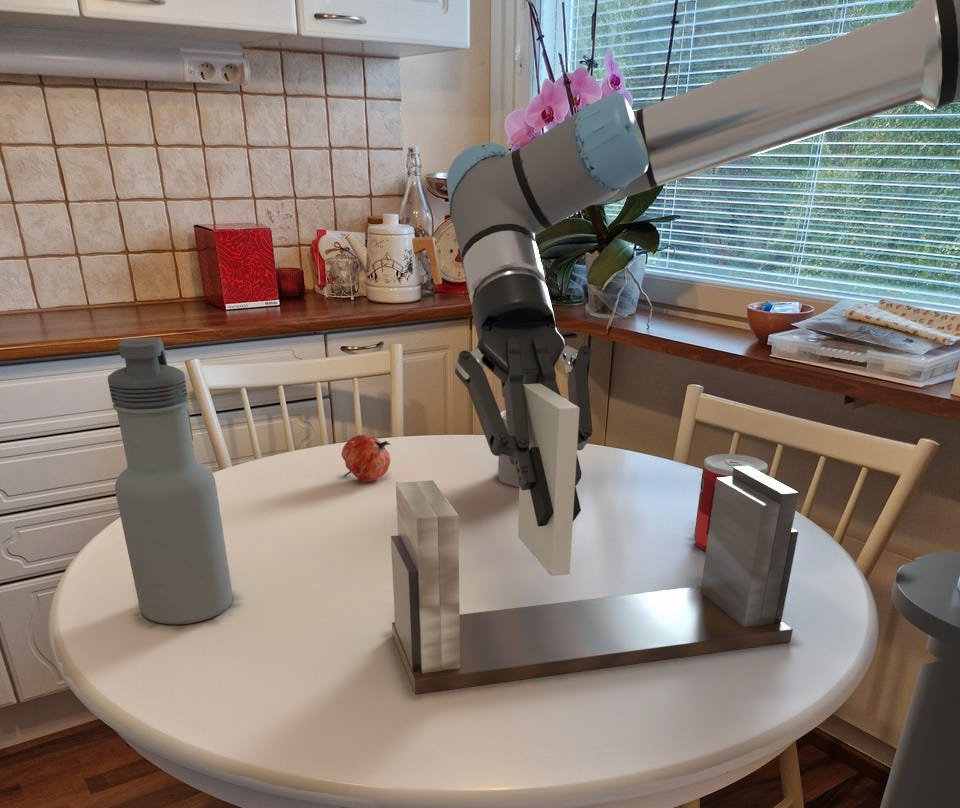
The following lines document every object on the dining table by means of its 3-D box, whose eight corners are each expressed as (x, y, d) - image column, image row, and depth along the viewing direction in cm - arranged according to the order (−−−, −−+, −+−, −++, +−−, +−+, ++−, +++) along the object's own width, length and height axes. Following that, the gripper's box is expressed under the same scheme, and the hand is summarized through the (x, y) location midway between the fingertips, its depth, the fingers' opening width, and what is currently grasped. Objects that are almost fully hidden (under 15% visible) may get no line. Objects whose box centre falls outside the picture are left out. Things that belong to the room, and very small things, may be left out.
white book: (534, 535, 85) (540, 383, 78) (569, 574, 77) (579, 407, 70) (517, 537, 85) (522, 384, 78) (551, 576, 77) (559, 408, 69)
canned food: (726, 531, 114) (738, 450, 109) (767, 551, 108) (782, 467, 103) (680, 539, 111) (690, 457, 106) (720, 561, 105) (732, 475, 100)
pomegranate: (340, 499, 132) (382, 467, 126) (318, 457, 132) (358, 424, 126) (370, 491, 138) (410, 461, 132) (348, 451, 138) (388, 419, 132)
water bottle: (144, 592, 97) (91, 334, 83) (233, 583, 99) (195, 330, 86) (137, 632, 88) (77, 351, 75) (234, 621, 90) (192, 346, 77)
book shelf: (730, 594, 97) (752, 451, 89) (790, 642, 86) (821, 485, 79) (392, 635, 87) (384, 480, 80) (415, 694, 77) (408, 523, 69)
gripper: (569, 319, 87) (622, 528, 81) (427, 324, 83) (470, 543, 77) (592, 267, 80) (651, 492, 73) (438, 270, 76) (487, 506, 70)
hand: (559, 518), depth 75 cm, fingers closed on white book, 2 cm apart
